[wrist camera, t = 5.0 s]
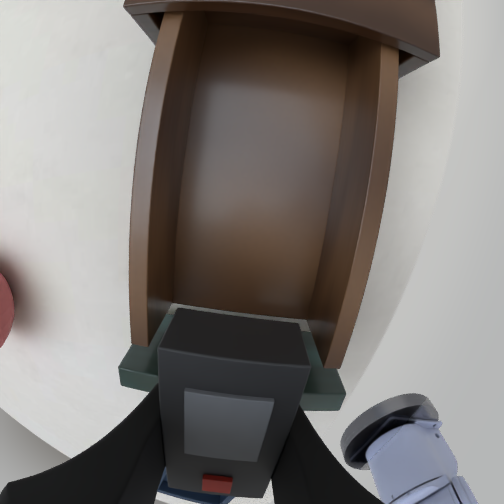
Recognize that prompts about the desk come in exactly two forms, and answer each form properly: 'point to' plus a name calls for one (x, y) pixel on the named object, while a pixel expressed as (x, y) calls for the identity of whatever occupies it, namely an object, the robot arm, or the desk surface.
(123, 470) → the robot arm
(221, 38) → the drawer
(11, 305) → the apple
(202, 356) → the remote
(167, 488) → the tray
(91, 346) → the desk surface
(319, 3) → the cabinet
